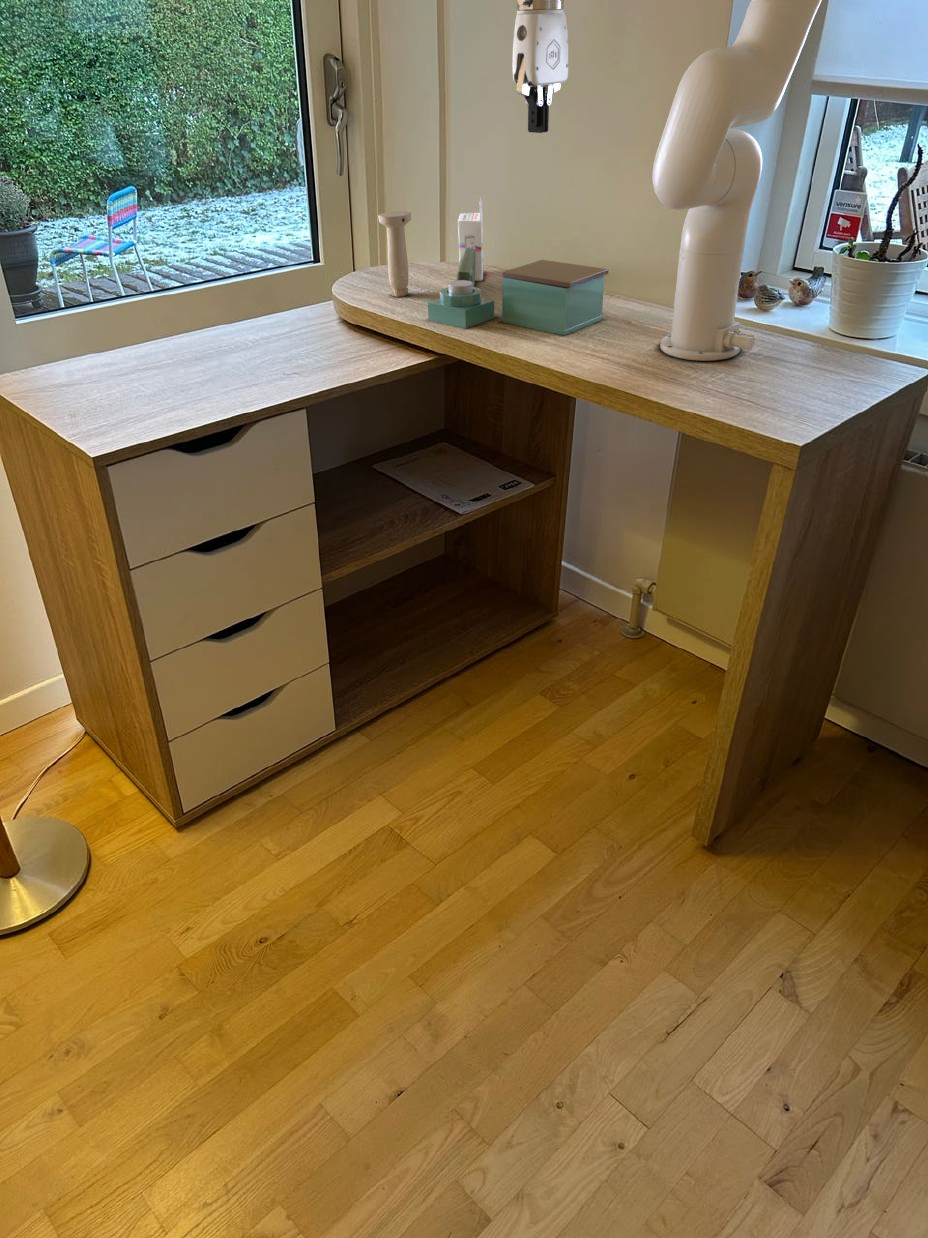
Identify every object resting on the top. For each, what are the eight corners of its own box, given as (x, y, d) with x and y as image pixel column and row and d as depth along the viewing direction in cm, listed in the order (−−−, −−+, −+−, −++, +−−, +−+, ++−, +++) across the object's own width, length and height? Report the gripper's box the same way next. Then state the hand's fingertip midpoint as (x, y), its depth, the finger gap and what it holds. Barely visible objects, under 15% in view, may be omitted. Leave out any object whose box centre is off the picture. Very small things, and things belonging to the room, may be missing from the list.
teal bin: (601, 319, 163) (604, 274, 159) (564, 335, 156) (565, 288, 152) (540, 307, 171) (541, 264, 166) (502, 322, 163) (502, 276, 159)
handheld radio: (454, 307, 172) (462, 275, 193) (471, 308, 172) (478, 276, 193) (454, 271, 168) (463, 242, 189) (472, 271, 168) (479, 242, 189)
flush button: (478, 292, 163) (477, 282, 162) (462, 297, 160) (461, 287, 160) (459, 288, 166) (459, 278, 165) (443, 293, 163) (443, 283, 162)
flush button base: (494, 318, 166) (494, 289, 163) (465, 328, 161) (465, 299, 158) (457, 310, 171) (456, 282, 168) (428, 320, 166) (427, 291, 163)
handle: (419, 294, 181) (415, 212, 173) (395, 300, 177) (390, 217, 169) (404, 290, 184) (399, 209, 176) (379, 296, 180) (373, 214, 172)
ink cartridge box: (460, 271, 195) (459, 196, 187) (483, 270, 195) (483, 196, 187) (458, 281, 188) (456, 204, 180) (482, 280, 188) (481, 203, 180)
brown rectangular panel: (608, 273, 158) (608, 269, 158) (569, 287, 151) (569, 282, 151) (542, 263, 166) (542, 259, 166) (502, 276, 159) (502, 271, 159)
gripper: (530, 3, 139) (528, 137, 150) (586, 1, 149) (581, 128, 159) (492, 4, 144) (493, 135, 154) (549, 3, 153) (546, 126, 163)
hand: (538, 131), depth 156 cm, fingers closed
